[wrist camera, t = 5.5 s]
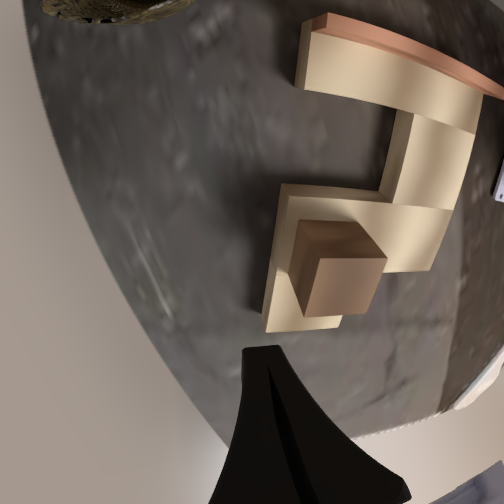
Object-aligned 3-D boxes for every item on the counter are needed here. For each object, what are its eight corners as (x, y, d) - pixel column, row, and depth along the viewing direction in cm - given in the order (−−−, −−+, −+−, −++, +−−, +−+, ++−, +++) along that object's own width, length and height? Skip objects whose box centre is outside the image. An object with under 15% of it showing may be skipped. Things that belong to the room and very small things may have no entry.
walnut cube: (358, 222, 19) (388, 258, 15) (342, 273, 21) (365, 313, 18) (298, 219, 18) (320, 258, 15) (287, 274, 20) (303, 317, 17)
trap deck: (466, 79, 15) (506, 89, 12) (395, 305, 27) (414, 335, 24) (301, 22, 13) (327, 12, 10) (261, 314, 25) (270, 352, 21)
